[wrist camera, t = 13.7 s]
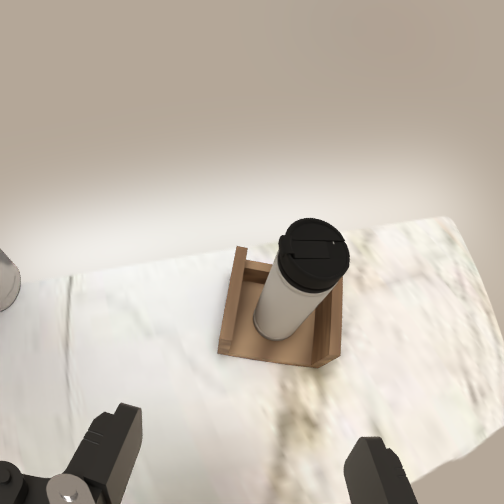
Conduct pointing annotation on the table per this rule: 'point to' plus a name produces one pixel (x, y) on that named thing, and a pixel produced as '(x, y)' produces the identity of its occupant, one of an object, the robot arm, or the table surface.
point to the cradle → (288, 350)
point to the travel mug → (300, 277)
